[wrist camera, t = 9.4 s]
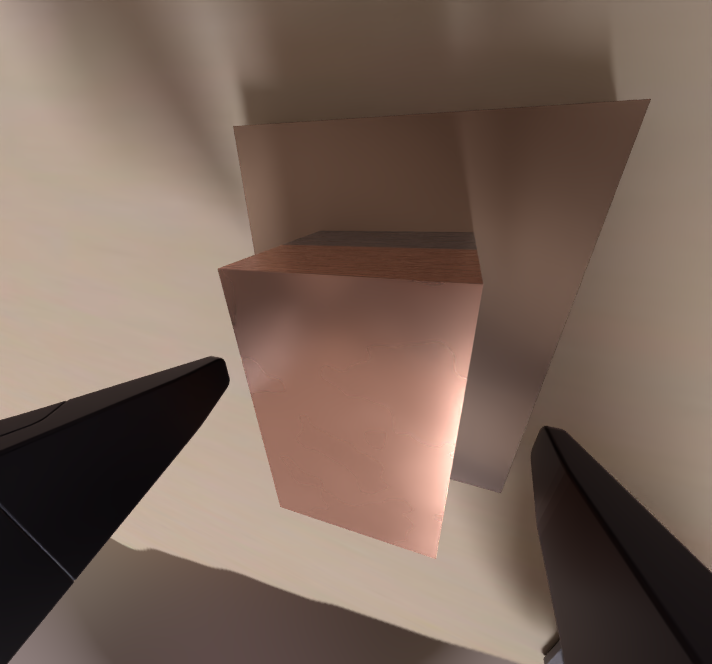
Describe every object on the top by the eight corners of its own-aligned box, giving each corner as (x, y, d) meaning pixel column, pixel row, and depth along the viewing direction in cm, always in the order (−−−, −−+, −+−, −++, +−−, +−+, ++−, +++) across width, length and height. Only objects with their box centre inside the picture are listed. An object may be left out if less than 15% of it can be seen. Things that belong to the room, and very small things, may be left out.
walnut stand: (497, 465, 14) (500, 493, 13) (298, 414, 17) (285, 433, 16) (619, 111, 8) (650, 99, 6) (260, 132, 11) (233, 126, 9)
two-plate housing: (473, 232, 9) (483, 284, 4) (445, 428, 12) (435, 559, 8) (320, 230, 10) (217, 269, 6) (336, 406, 14) (280, 506, 10)
